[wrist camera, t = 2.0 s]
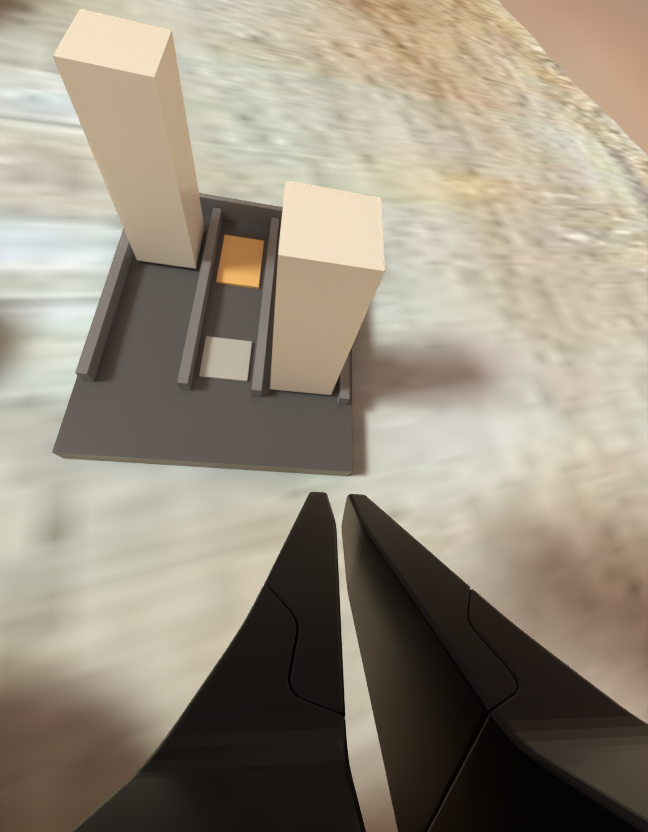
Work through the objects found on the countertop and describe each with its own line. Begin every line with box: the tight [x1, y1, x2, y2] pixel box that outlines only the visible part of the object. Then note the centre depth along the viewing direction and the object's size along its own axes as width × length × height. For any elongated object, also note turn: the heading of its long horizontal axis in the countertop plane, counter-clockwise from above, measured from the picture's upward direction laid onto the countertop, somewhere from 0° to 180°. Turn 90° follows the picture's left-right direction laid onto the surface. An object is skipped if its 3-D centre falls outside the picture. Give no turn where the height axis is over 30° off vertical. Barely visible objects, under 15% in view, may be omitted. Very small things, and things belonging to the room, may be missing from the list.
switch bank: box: [52, 193, 352, 476], centre depth 24 cm, size 20×17×3 cm
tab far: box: [53, 9, 205, 269], centre depth 21 cm, size 4×4×11 cm
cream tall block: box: [270, 180, 385, 395], centre depth 19 cm, size 4×4×11 cm
